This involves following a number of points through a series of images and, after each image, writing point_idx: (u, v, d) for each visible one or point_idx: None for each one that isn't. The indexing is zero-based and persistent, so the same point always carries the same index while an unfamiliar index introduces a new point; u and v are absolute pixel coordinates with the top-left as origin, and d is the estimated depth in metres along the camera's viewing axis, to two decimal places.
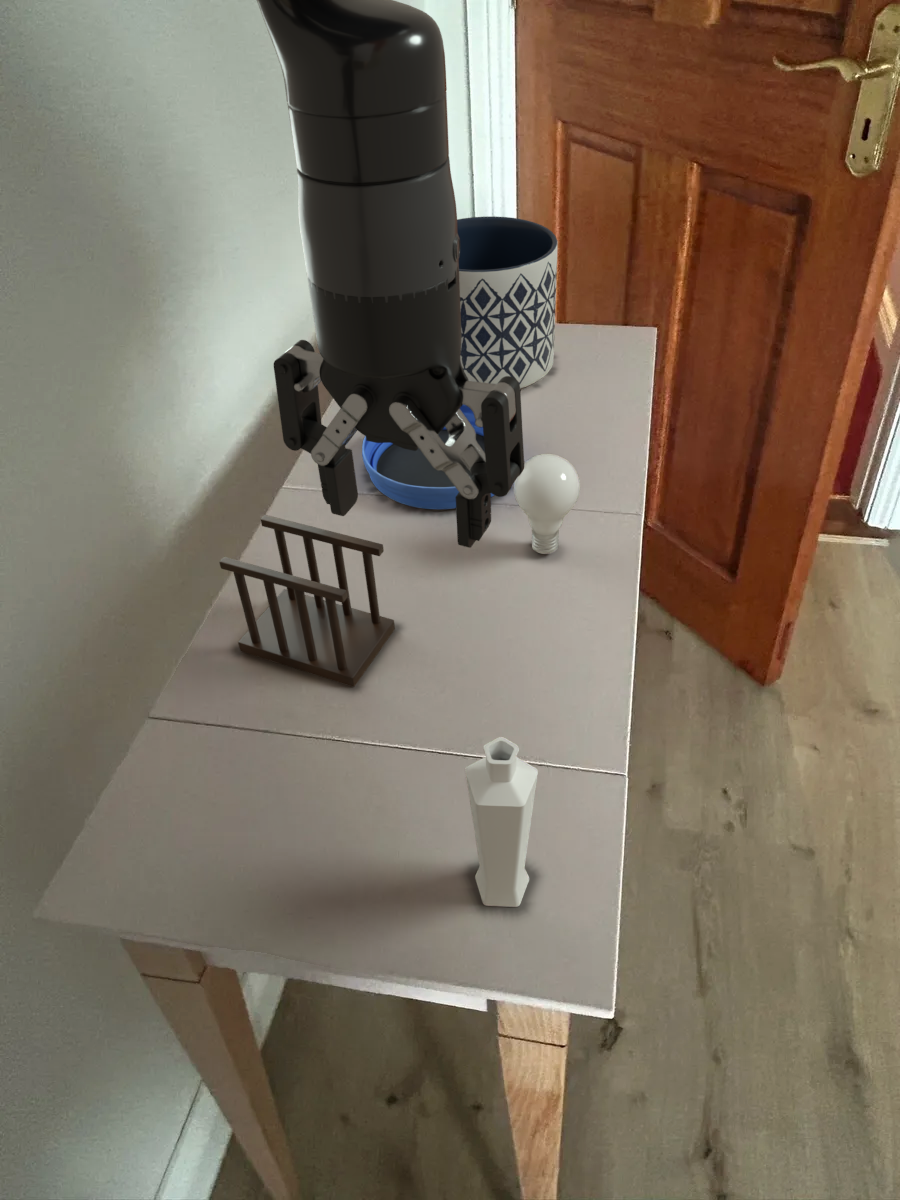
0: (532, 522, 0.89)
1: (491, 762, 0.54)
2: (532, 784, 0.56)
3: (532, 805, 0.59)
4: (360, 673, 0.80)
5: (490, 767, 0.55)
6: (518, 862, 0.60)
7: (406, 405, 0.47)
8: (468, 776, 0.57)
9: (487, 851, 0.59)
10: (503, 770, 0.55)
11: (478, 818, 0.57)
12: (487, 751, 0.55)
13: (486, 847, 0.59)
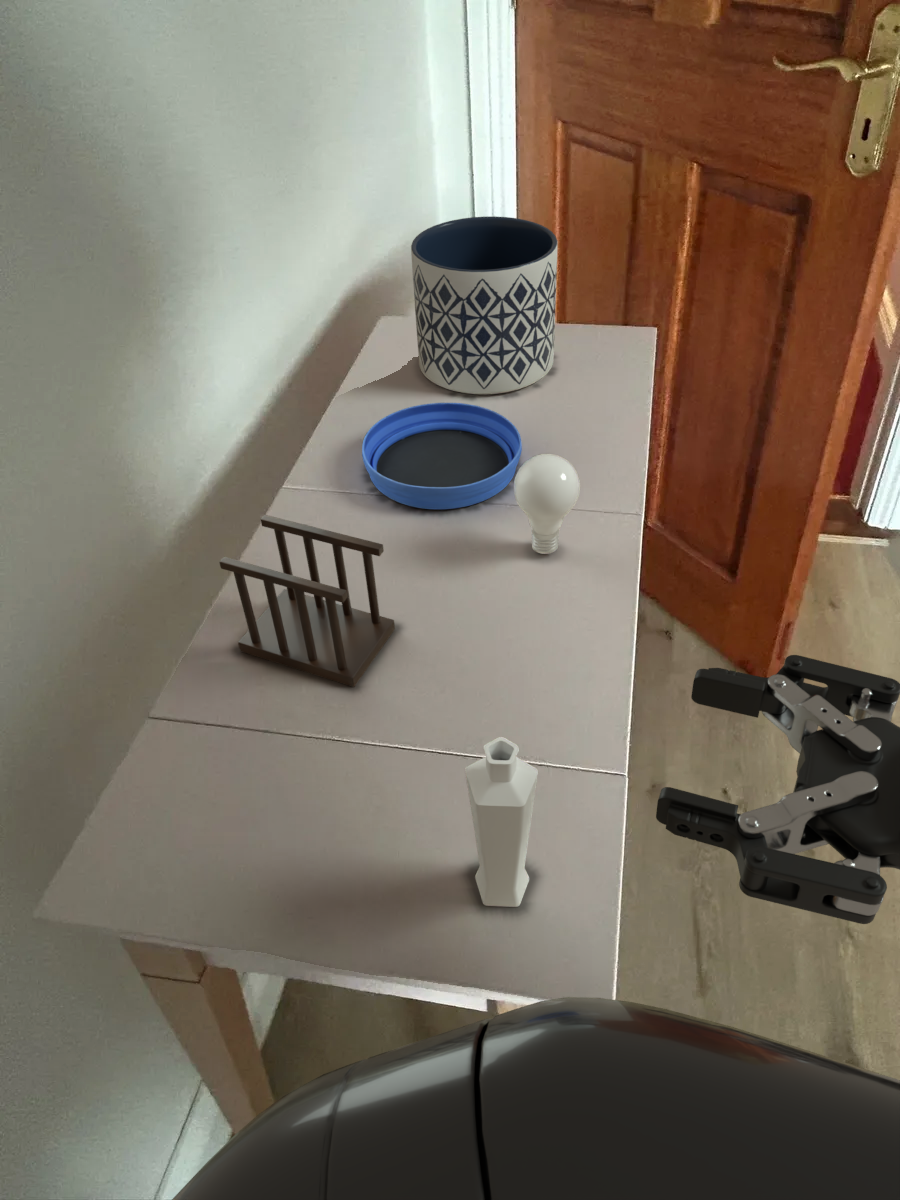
0: (532, 522, 0.89)
1: (491, 762, 0.54)
2: (532, 784, 0.56)
3: (532, 805, 0.59)
4: (360, 673, 0.80)
5: (490, 767, 0.55)
6: (518, 862, 0.60)
7: (873, 791, 0.43)
8: (468, 776, 0.57)
9: (487, 851, 0.59)
10: (503, 770, 0.55)
11: (478, 818, 0.57)
12: (487, 751, 0.55)
13: (486, 847, 0.59)
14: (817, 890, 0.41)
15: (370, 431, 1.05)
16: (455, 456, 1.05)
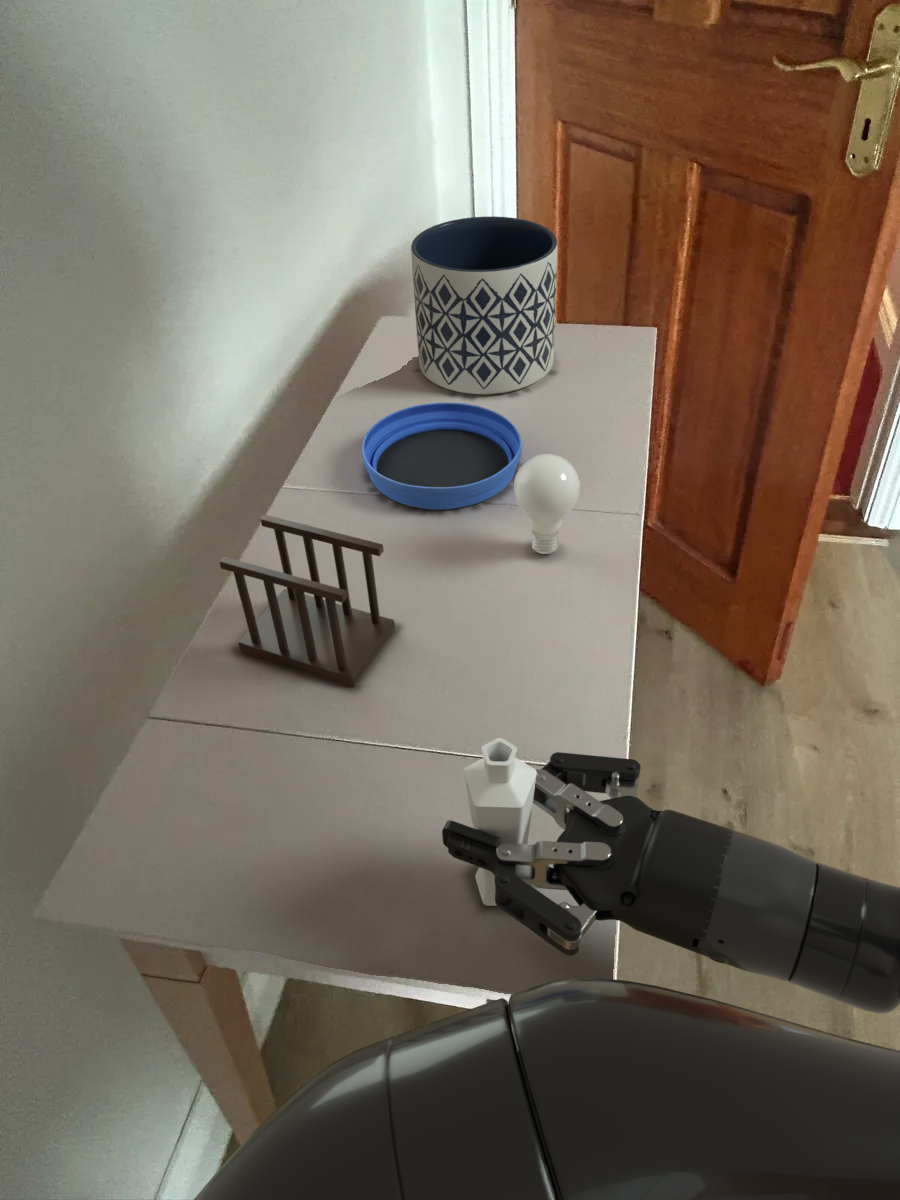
0: (532, 522, 0.89)
1: (489, 763, 0.54)
2: (531, 785, 0.56)
3: (531, 805, 0.59)
4: (360, 673, 0.80)
5: (488, 768, 0.55)
6: None
7: (603, 860, 0.54)
8: (467, 777, 0.57)
9: None
10: (501, 771, 0.55)
11: (477, 819, 0.57)
12: (485, 752, 0.55)
13: None
14: (534, 916, 0.53)
15: (370, 431, 1.05)
16: (455, 456, 1.05)
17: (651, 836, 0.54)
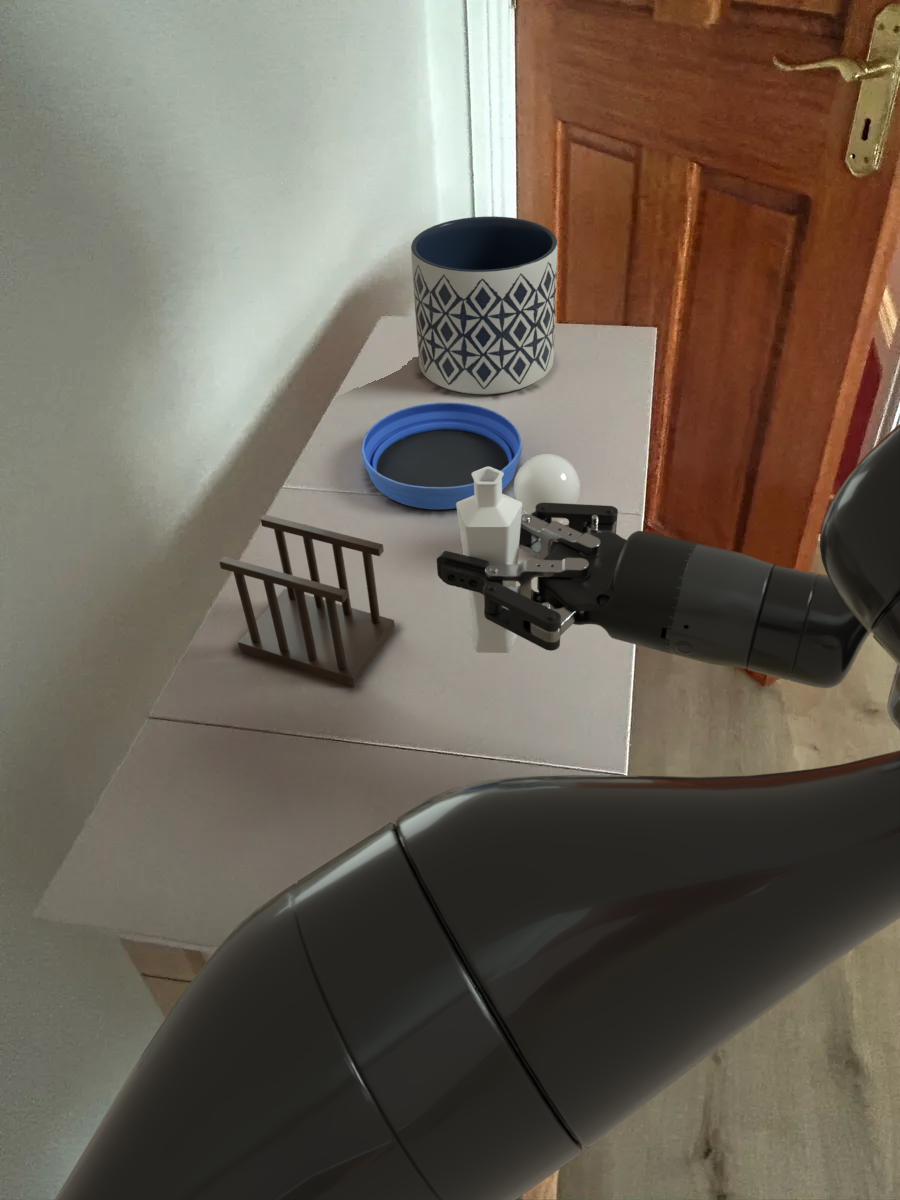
0: None
1: (478, 483, 0.60)
2: (516, 512, 0.62)
3: (518, 541, 0.64)
4: (360, 673, 0.80)
5: (477, 490, 0.61)
6: None
7: (581, 570, 0.60)
8: (459, 507, 0.63)
9: None
10: (489, 492, 0.61)
11: (468, 544, 0.62)
12: (475, 476, 0.61)
13: None
14: (518, 615, 0.59)
15: (370, 431, 1.05)
16: (455, 456, 1.05)
17: (624, 544, 0.59)
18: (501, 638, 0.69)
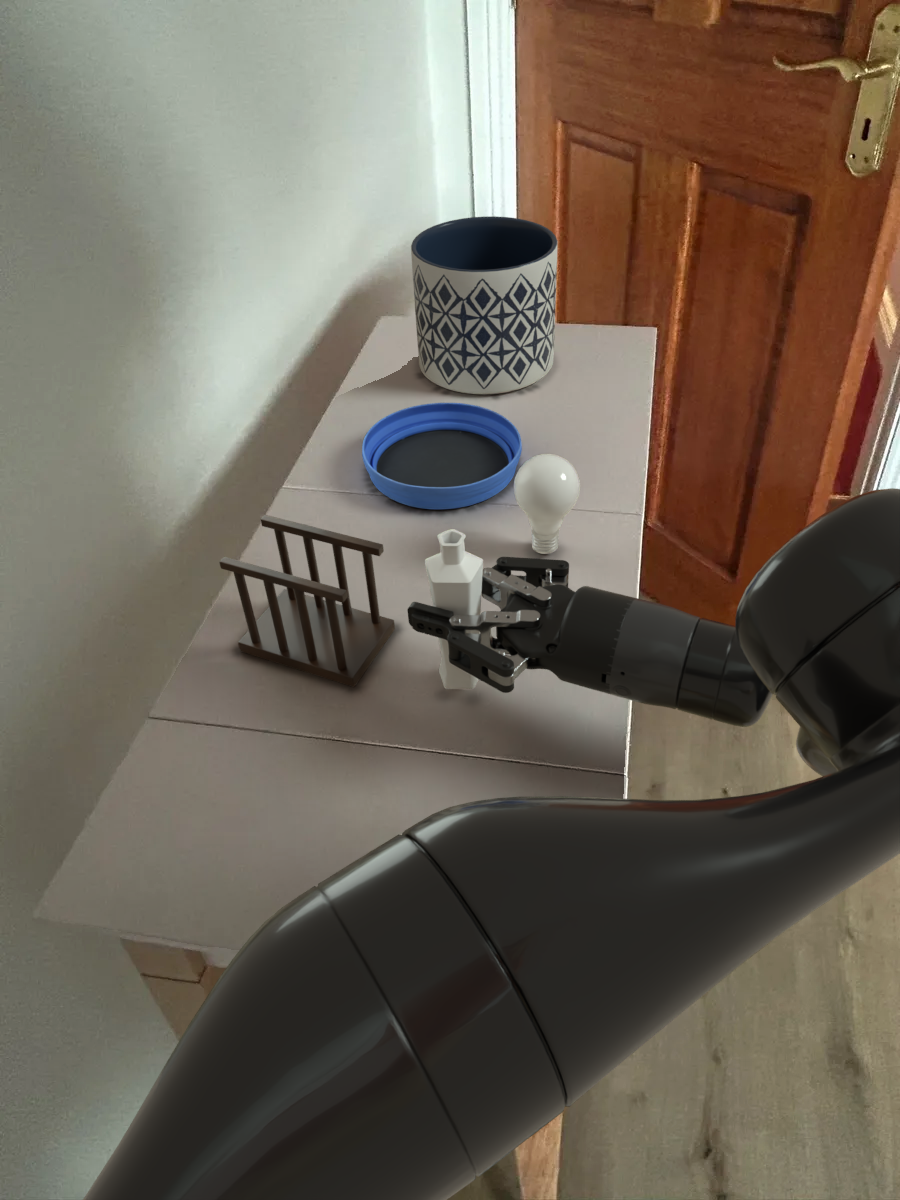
0: (532, 522, 0.89)
1: (443, 545, 0.68)
2: (477, 568, 0.70)
3: (480, 592, 0.73)
4: (360, 673, 0.80)
5: (442, 550, 0.69)
6: None
7: (533, 621, 0.68)
8: (427, 564, 0.71)
9: None
10: (453, 552, 0.69)
11: (435, 597, 0.71)
12: (440, 538, 0.69)
13: None
14: (477, 662, 0.67)
15: (370, 431, 1.05)
16: (455, 456, 1.05)
17: (570, 599, 0.68)
18: (467, 676, 0.77)
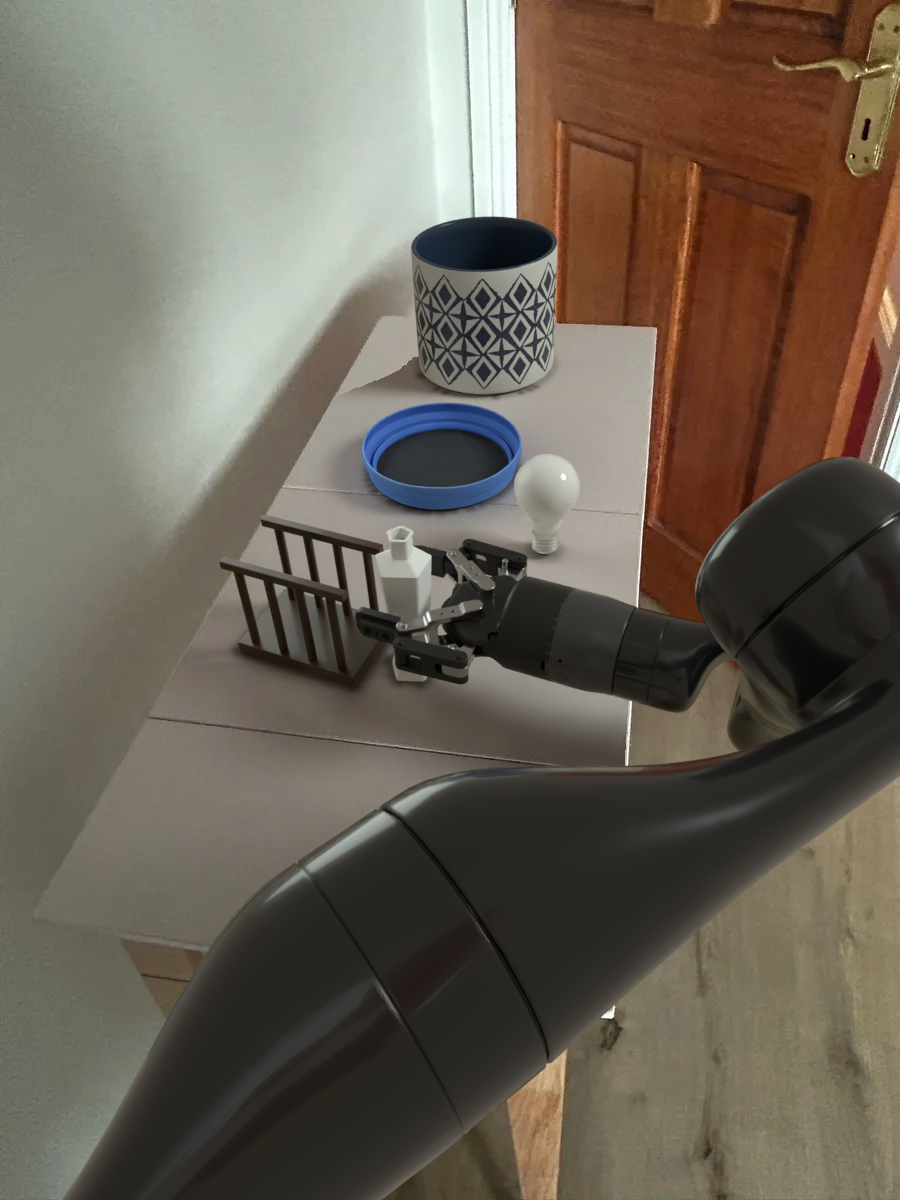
0: (532, 522, 0.89)
1: (391, 541, 0.71)
2: (425, 564, 0.73)
3: (429, 587, 0.75)
4: (360, 673, 0.80)
5: (391, 546, 0.71)
6: None
7: (478, 610, 0.70)
8: (377, 559, 0.73)
9: None
10: (401, 548, 0.71)
11: (384, 591, 0.73)
12: (389, 534, 0.71)
13: None
14: (430, 661, 0.68)
15: (370, 431, 1.05)
16: (455, 456, 1.05)
17: (512, 589, 0.70)
18: None
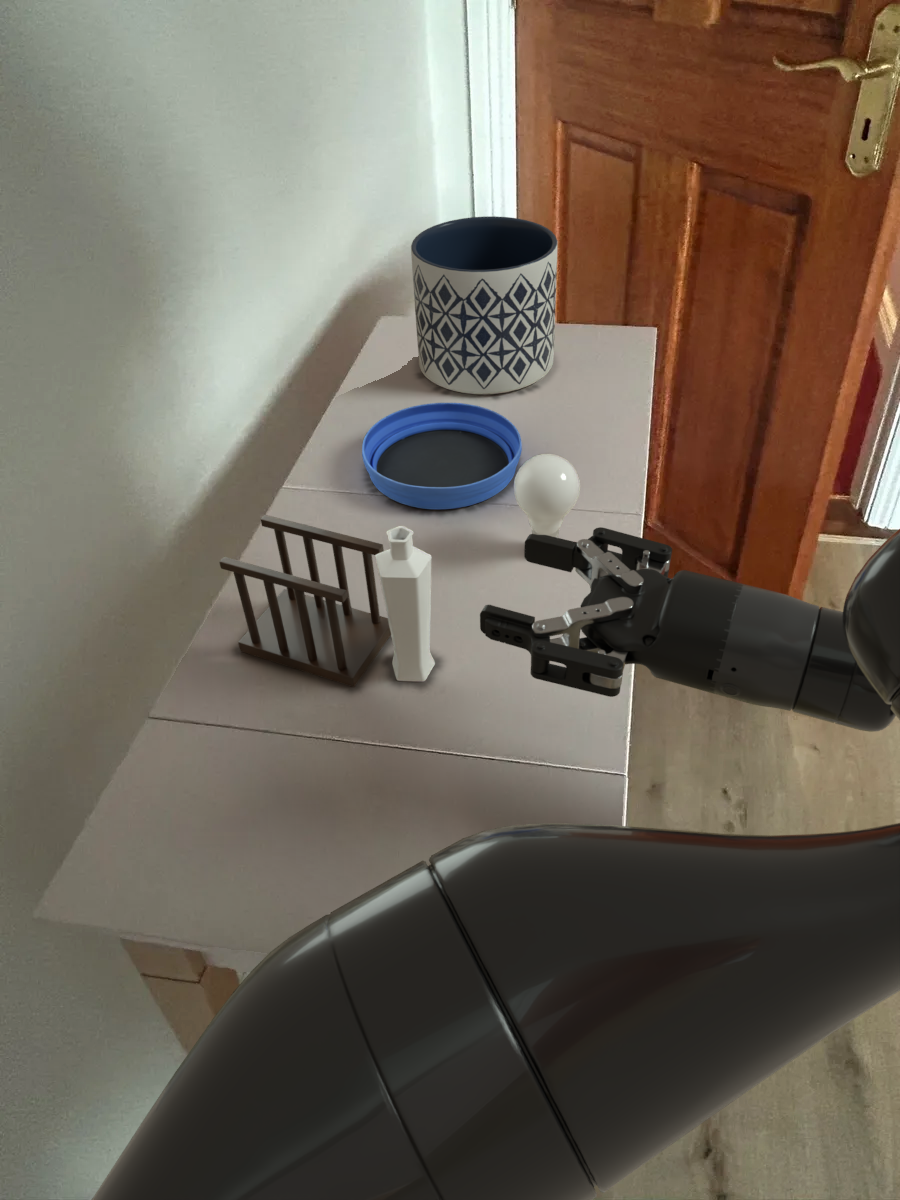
0: (532, 522, 0.89)
1: (391, 541, 0.71)
2: (425, 564, 0.73)
3: (429, 587, 0.75)
4: (360, 673, 0.80)
5: (391, 546, 0.71)
6: (420, 636, 0.77)
7: (629, 609, 0.60)
8: (377, 559, 0.73)
9: (394, 624, 0.76)
10: (401, 548, 0.71)
11: (384, 591, 0.73)
12: (389, 534, 0.71)
13: (393, 621, 0.75)
14: (577, 669, 0.58)
15: (370, 431, 1.05)
16: (455, 456, 1.05)
17: (670, 585, 0.59)
18: (418, 669, 0.79)
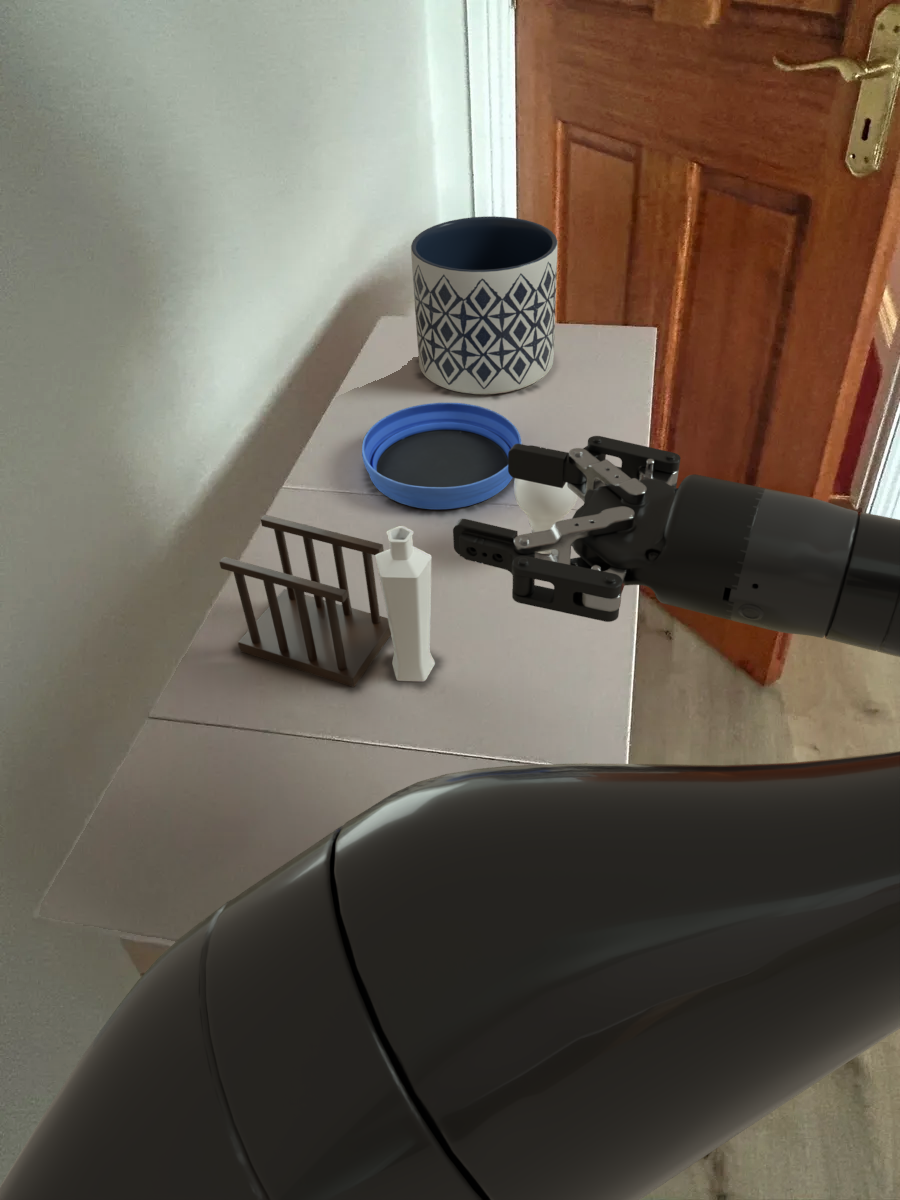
0: (532, 522, 0.89)
1: (391, 541, 0.71)
2: (425, 564, 0.73)
3: (429, 587, 0.75)
4: (360, 673, 0.80)
5: (391, 546, 0.71)
6: (420, 636, 0.77)
7: (629, 520, 0.50)
8: (377, 559, 0.73)
9: (394, 624, 0.76)
10: (401, 548, 0.71)
11: (384, 591, 0.73)
12: (389, 534, 0.71)
13: (393, 621, 0.75)
14: (567, 588, 0.48)
15: (370, 431, 1.05)
16: (455, 456, 1.05)
17: (678, 489, 0.50)
18: (418, 669, 0.79)
